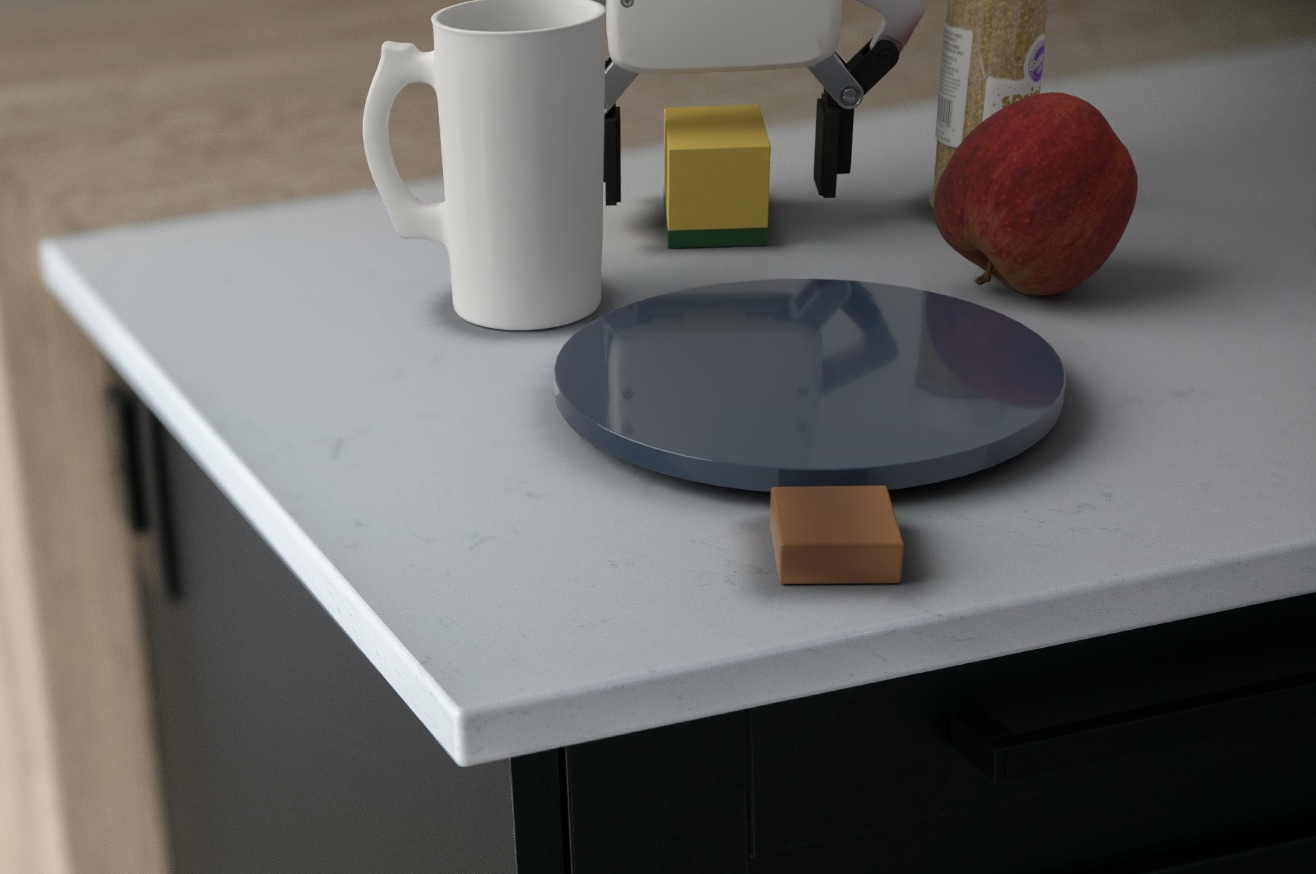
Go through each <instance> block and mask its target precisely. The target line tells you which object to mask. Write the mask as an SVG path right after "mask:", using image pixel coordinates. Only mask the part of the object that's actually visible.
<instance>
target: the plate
mask: <svg viewBox="0 0 1316 874" xmlns="http://www.w3.org/2000/svg"><path fill="white" fill-rule="evenodd" d="M553 388H554V389H553V390H554V391H553V392H554V399H555V404H556V406H557V408H558V411H559V412H560V415H561V417H562V418H563V420H565V421H566V423H567V424H568V426H569V427H570V428H571V429H572V430H574V431H575V433H577V434H578V435H579V436H580V437H582V438H583V439H584V440H585V441H587V442H589V443H591V444H592V445H593V446H595V447H596V448H598V449H600V450H602V451H604V452H605V453H607V454H610V455H612V456H614V457H616V458H617V459H619V460H620V459H621V460H622V461H624V462H627V463H629V464H632V465H635V466H638V467H640V468H644V469H646V470H649V471H653V472H655V473H659V474H664V475H667V476H670V477H674V478H678V479H681V480H685V481H691V482H696V483H700V484H706V485H711V486H716V487H723V488H731V489H739V490H745V491H754V492H767V493H771V489H772V487H805V486H887V489H888V491H891V490H901V489H906V488H912V487H913V488H914V487H918V486H925V485H931V484H936V483H940V482H945V481H948V480H952V479H953V480H954V479H956V478H961V477H965V476H968V475H971V474H973V473H977V472H980V471H984V470H985V469H989V468H992V467H994V466H997V465H999V464H1002V463H1003V462H1006V461H1008V460H1011V459H1012V458H1015V457H1017V456H1018V455H1020V454H1022V453H1023V452H1025V451H1026V450H1028V449H1029V448H1032V447H1033V446H1035V445H1036V444H1037V443H1038V442H1039V441H1040V440H1041V439H1043V438H1044V437H1045V436H1046V435H1047V434H1048V433H1049V432H1050V431H1051V430H1052V428H1053V427H1054V425H1055V424H1056V423H1057V421H1058V420H1059V418H1060V415H1061V412H1062V409H1063V406H1064V400H1065V393H1066V392H1065V391H1066V370H1065V367H1064V365H1063V362H1062V359H1061V357H1060V356H1059V354H1058V352H1056V350H1055V348H1054V347H1053V346H1052V345H1051V344H1050V343H1049V342H1048V341H1046V339H1044V338H1043V337H1042V336H1041V335H1040V334H1039V333H1037V332H1036V331H1034V330H1032V329H1031V328H1030V327H1027V325H1025V324H1023V323H1022V322H1019V321H1017V320H1016V319H1013V317H1012V318H1011V317H1009V316H1007V315H1005V314H1003V313H1001V312H998V311H996V310H994V309H991V308H988V307H986V306H984V305H981V304H978V303H975V302H971V301H968V300H964V299H961V298H958V297H956V296H950V295H947V294H942V293H937V292H933V291H930V290H929V291H928V290H924V289H919V288H913V287H908V286H902V285H895V284H889V283H880V282H879V283H878V282H873V281H861V280H849V279H833V278H832V279H831V278H829V279H828V278H771V279H752V280H741V281H731V282H722V283H714V284H709V285H708V284H707V285H702V286H696V287H695V286H694V287H690V288H685V289H680V290H675V291H670V292H666V293H662V294H658V295H654V296H651V297H647V298H644V299H641V300H637V301H635V302H631V303H628V304H626V305H623V306H620V307H619V308H616V309H613V310H612V311H609V312H607V313H604V314H603V315H601V316H599V317H598V318H595V319H594V320H592V321H590V322H589V323H587V324H586V325H584V326H583V327H581V328H580V329H579V330H577V331H576V332H574V333H573V334H572V335H571V336H570V338H569V339H568V340H567V341H566V342H565V343H564V344H563V345H562V347H561V348H560V350H559V352H558V354H557V355H556V358H555V362H554V367H553Z"/></svg>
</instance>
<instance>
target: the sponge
mask: <svg viewBox="0 0 1316 874" xmlns="http://www.w3.org/2000/svg"><path fill="white" fill-rule="evenodd" d="M771 148H772V146H771V142H770V139H769V136H768V132H767V129H766V124H765V120H764V118H763V114H762V110H761V107H760V104H756V103H755V104H754V103H753V104H732V105H730V104H729V105H708V106H707V105H705V106H679V107H678V106H677V107H674V106H673V107H664V108H663V199H662V200H663V210H664V211H663V212H664V221H665V231H666V243H667V248H668V249H679V248H680V249H685V248H717V247H718V248H719V247H720V248H721V247H750V246H752V247H753V246H767V245H768V235H769V233H768V231H769V230H768V229H769V228H768V227H769V205H770V203H769V202H770V179H771V177H770V176H771V153H772V152H771V151H772V149H771Z"/></svg>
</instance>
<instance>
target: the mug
mask: <svg viewBox="0 0 1316 874" xmlns="http://www.w3.org/2000/svg"><path fill="white" fill-rule="evenodd" d="M605 13H606V9H605V5H604V6H603V5H601V4H600V3H598V2H595V1H592V0H470V1H469V0H468V1H464V2H460V3H456V4H453V5H450V6H448V7H444V8H442V9H439V10H437V11H436V12H435V13H433V14H432V15H431V18H430V21H431V25H432V29H433V50H430V51H421V50H419V49H418V47H417V46H416V44H414V43H412V42H398V41H393V40H386V41H384V42H383V43H382V44H381V50H380V51H381V53H380V59H379V63H378V65H377V68H376V70H375V73H374V76H373V78H372V81H371V84H370V85H369V90H368V93H367V96H366V99H365V105H364V109H363V115H362V141H363V147H364V154H365V157H366V158H365V159H366V163H367V165H368V168H369V171H370V172H369V173H370V174H371V177H372V179H373V182H374V184H375V187H376V189H377V191H378V193H379V196H380V198H381V199H382V202H383V204H384V207H385V209H386V211H387V213H388V215H389V217H390V219H391V223H392V224H393V226H394V230H395V231H396V233H397V235H398V236H399V237H400V238H402V239H404V240H414V239H415V240H416V239H417V240H419V239H420V240H428V241H432V242H435V243H437V244H439V245H441V246H443V247H444V248H445V249H446V251H447V254H448V259H449V269H450V270H449V271H450V282H451V294H452V295H451V296H452V306H453V309H454V311H455V314H457V315H458V316H459V317H460V318H461V319H463V320H465V321H466V322H468V323H471V324H473V325H476V326H481V327H485V328H489V329H496V330H505V331H532V330H533V331H535V330H544V329H552V328H556V327H561V326H566V325H569V324H571V323H575V322H577V321H580V320H582V319H584V318H587V317H589V316H590V315H592V314H593V313H594V312H595V311H596V310H597V309H598V308H599V306H600V303H601V300H602V268H603V266H602V264H603V246H604V245H603V243H604V182H603V166H604V99H605V58H606V45H605V43H606V42H605V41H606V40H605ZM413 83H423V84H426V85H428V86H430V87H432V88H433V89H434V91H435V93H436V98H437V99H436V100H437V108H438V109H437V110H438V121H439V135H440V137H439V138H440V149H441V161H442V163H441V164H442V175H443V188H444V189H443V190H444V200H443V201H441V202H425V201H422V200H420V199H419V198H417V197H416V196H415V194H414V193H412V192H411V190H410V189H409V188H408V187H407V185H406V184H405V183H404V181H403V180H402V178H401V176H400V173H399V171H398V169H397V165H396V163H395V161H394V157H393V153H392V148H391V144H390V138H389V136H390V135H389V122H390V115H391V110H392V108H393V104H394V102H395V100H396V98H397V96H398V95H399V93H400V92H401V91H402V89H403V88H405V87H406V86H407V85H410V84H413Z"/></svg>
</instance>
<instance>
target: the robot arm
mask: <svg viewBox="0 0 1316 874" xmlns="http://www.w3.org/2000/svg"><path fill="white" fill-rule="evenodd" d="M592 1H595V2H598V3H600V4H601V5H603V6H604V7H605V9H606V13H605V15H604V26H605V33H606V38H607V47H608V54H607V55H605V99H604V166H603V183H605V189H604V190H605V193H604V194H605V207H610V206H613V207H614V206H617V204H618V203H622V139H621V138H622V135H621V132H622V131H621V130H622V129H621V127H622V126H621V125H622V121H621V119H622V118H621V105H617V102H618V100H619V99H620V98H621V97H622V95H623V94H624V93H625V92H626V90H627V89H628V88H629V87H630V86H631V84H632V83H633V82H634V81H635V79H636V78H637V77H638V75H639V74H640V75H683V74H684V75H685V74H711V73H734V72H735V73H736V72H755V71H775V70H792V69H801V68H802V69H803V68H807V69H808V71H810V73H811V74H812V75H813V76H814V77H815V79H816V80H817V81H818V82H819V84H820V85H821V86H822V87H823V92H822V93H821V95H820V98H819V97H818V98H817V99H816V107H815V108H816V110H815V111H816V112H815V132H814V150H813V151H814V155H813V156H814V157H813V174H812V175H813V182H814V184H815V187H816V191H817V193H818V196H822V198H823V199H836V196H837V183H838V175H850V174H851V171H852V170H851V169H852V159H853V158H852V157H853V141H854V140H853V139H854V124H855V123H854V122H855V109H856V108H857V107H859V105H860V104H862V102H863V100H864V96H865V95H867V93H868V92H870V91H871V90H872V89H873V88H874V87H875V86H876V85H877V84H878V83H879V82H880V81H881V80H882V79H883V78H884V77H885V76H886V75H887V74H888V73H889V72H890V71H891V70H893V68H894V67H895V66H897V64H898V62H899V60H900V55H901V53H902V52H903V50H904V48H905V46H907V45H908V42H909V41H910V39H911V37H912V35H913V34H914V33H915V30H916V28H917V27H918V26H919V23H920V22H921V20H922V18H923V16H924V15H925V12H926V4H925V2H924V0H855V1H857V2H858V3H860V4H863V5H864V6H867V7H869V8H871V9H873V10H874V11H877V12H879V13H880V14H882V18H881V22H880V24H879V25H878V27H877V28H878V29H876V32H875V34H874V35H873V37H871V39H869V40H868V42H867V43H865V44H864V45H863V47H861V48H860V49H859V50H858V51H857V52H856V53H855V54H854V55H853V56H852V57H851V58H850V59H849V60H848V61H847V62H846V60H845V59H844V57H843V56H842V55H841V54H840V53H839V52H838V51H837V49H838V46H839V41H840V36H841V27H842V12H843V0H592Z"/></svg>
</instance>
